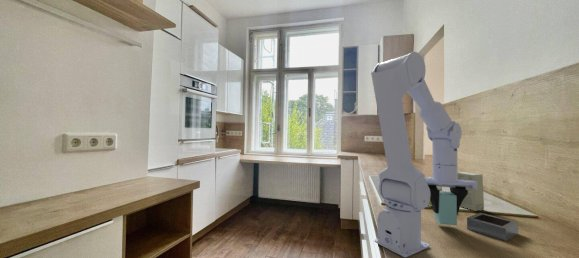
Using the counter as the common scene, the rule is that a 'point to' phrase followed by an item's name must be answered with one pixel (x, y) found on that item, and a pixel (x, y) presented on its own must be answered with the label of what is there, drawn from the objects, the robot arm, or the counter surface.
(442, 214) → the peg
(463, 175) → the skincare box
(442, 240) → the counter surface
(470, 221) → the socket
